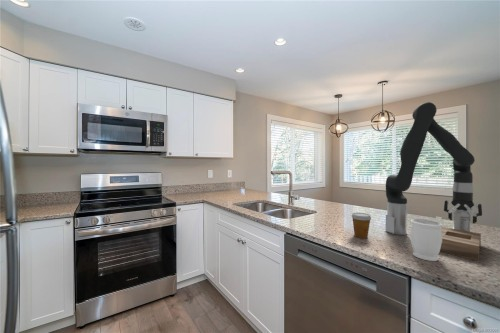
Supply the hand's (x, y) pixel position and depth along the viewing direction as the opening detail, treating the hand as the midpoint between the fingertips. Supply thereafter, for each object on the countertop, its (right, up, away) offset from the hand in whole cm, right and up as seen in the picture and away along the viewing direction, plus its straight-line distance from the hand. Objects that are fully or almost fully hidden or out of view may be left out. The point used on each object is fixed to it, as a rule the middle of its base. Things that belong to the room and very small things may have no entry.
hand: (461, 221), depth 113 cm
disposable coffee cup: (-52, -9, +3) cm, 53 cm away
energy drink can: (0, -9, 0) cm, 9 cm away
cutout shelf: (-14, -9, -12) cm, 21 cm away
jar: (-38, -10, -22) cm, 45 cm away
